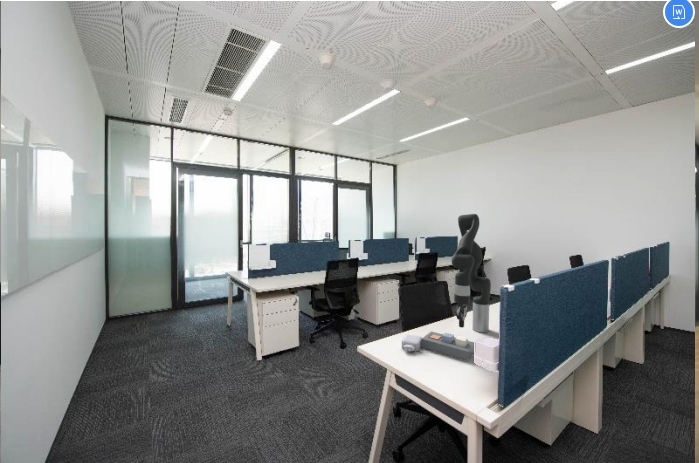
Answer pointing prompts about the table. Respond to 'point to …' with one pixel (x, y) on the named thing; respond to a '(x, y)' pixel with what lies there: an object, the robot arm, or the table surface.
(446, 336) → the light blue cube
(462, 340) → the key ivory
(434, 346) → the keypad
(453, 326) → the table surface
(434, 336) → the key terracotta
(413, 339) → the charger
